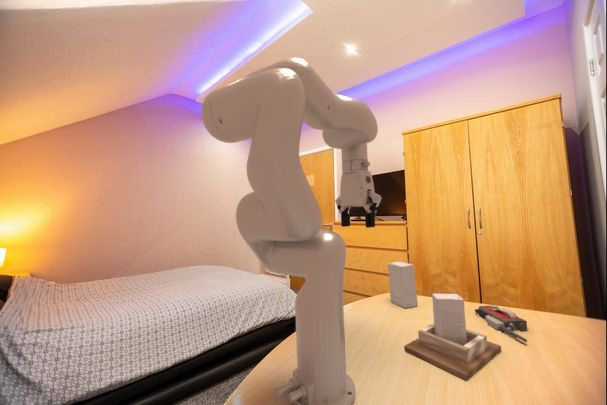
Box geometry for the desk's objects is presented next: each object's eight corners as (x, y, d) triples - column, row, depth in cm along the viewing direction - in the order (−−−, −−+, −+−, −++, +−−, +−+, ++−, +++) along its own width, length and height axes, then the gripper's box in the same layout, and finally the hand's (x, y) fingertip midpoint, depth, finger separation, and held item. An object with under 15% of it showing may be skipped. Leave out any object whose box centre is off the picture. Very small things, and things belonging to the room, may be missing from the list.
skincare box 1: (418, 306, 90) (415, 264, 91) (404, 309, 89) (401, 266, 89) (402, 299, 98) (400, 260, 99) (389, 301, 97) (387, 262, 97)
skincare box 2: (460, 341, 64) (457, 293, 64) (467, 351, 59) (464, 299, 60) (434, 340, 65) (431, 293, 65) (439, 349, 61) (437, 298, 61)
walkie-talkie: (468, 314, 83) (522, 347, 63) (467, 301, 83) (520, 328, 63) (494, 313, 83) (556, 345, 63) (493, 299, 83) (555, 327, 63)
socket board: (466, 380, 51) (464, 359, 51) (404, 350, 63) (403, 333, 63) (501, 350, 61) (500, 333, 61) (442, 329, 73) (441, 314, 73)
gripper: (387, 164, 70) (390, 226, 69) (344, 173, 84) (346, 225, 83) (368, 162, 65) (372, 228, 65) (326, 172, 80) (328, 226, 79)
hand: (357, 226), depth 74 cm, fingers open, 9 cm apart
